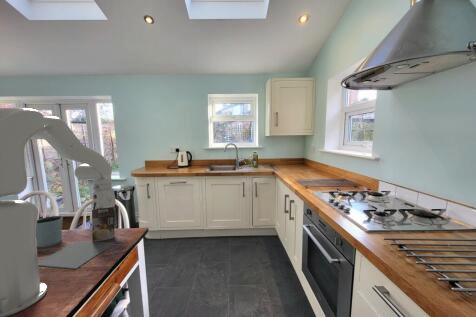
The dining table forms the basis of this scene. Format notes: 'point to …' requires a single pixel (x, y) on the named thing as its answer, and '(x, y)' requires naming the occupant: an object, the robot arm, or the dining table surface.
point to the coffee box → (103, 224)
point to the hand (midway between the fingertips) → (105, 221)
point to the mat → (74, 255)
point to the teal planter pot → (49, 231)
